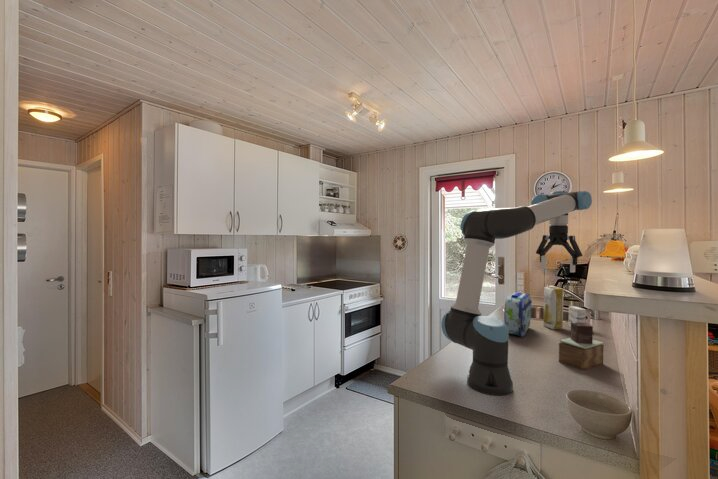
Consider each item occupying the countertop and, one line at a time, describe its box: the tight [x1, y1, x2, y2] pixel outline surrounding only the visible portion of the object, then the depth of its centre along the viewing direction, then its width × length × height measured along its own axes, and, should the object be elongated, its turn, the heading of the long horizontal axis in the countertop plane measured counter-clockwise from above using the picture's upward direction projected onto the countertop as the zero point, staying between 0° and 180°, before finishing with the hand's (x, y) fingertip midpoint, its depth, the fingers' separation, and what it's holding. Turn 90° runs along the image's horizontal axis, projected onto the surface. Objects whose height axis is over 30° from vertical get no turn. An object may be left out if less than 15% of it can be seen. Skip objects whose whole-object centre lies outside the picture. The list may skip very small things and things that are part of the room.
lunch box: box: [503, 292, 532, 338], centre depth 183 cm, size 26×11×21 cm, turn 144°
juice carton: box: [543, 285, 565, 330], centre depth 191 cm, size 9×8×24 cm
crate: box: [558, 341, 605, 371], centre depth 140 cm, size 14×10×8 cm
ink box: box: [567, 305, 587, 328], centre depth 190 cm, size 9×5×12 cm, turn 179°
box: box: [570, 322, 594, 344], centre depth 140 cm, size 6×6×7 cm
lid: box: [559, 337, 605, 349], centre depth 140 cm, size 14×10×1 cm
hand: (557, 270), depth 156 cm, fingers open, 13 cm apart
